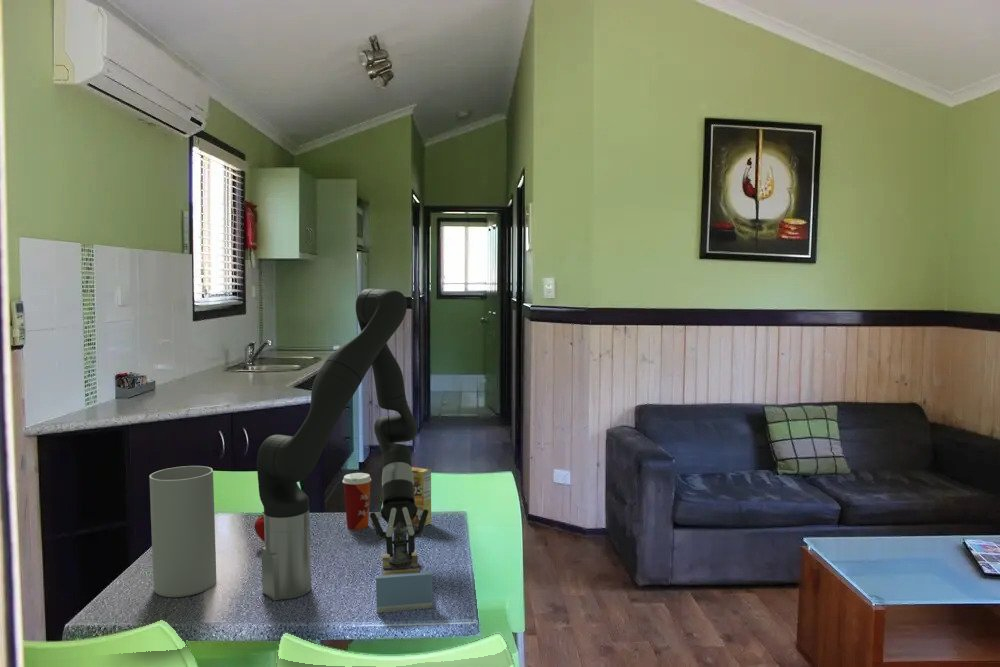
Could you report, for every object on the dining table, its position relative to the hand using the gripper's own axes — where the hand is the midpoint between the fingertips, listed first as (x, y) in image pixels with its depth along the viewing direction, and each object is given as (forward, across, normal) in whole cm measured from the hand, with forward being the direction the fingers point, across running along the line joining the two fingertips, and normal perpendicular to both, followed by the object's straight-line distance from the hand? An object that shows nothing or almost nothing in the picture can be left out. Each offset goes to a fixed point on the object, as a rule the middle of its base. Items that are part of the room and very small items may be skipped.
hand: (400, 554), depth 161 cm
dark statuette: (+2, 0, +5) cm, 6 cm away
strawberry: (-16, -32, +23) cm, 42 cm away
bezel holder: (+12, 0, -5) cm, 13 cm away
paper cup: (-23, -10, +30) cm, 39 cm away
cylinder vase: (+1, -46, +7) cm, 47 cm away
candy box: (-22, +5, +30) cm, 38 cm away
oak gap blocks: (+2, 0, +5) cm, 6 cm away
